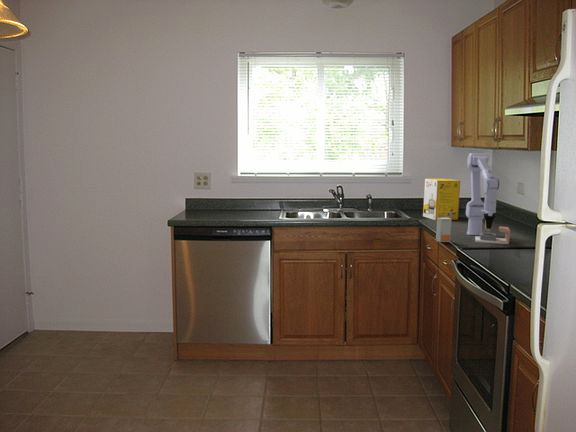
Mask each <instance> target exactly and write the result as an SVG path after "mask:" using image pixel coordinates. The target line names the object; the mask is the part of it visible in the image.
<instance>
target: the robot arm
mask: <svg viewBox="0 0 576 432" xmlns="http://www.w3.org/2000/svg"><path fill="white" fill-rule="evenodd" d="M466 162H467V165H466V166H467V170H469V171H470V190H471V191H470V194H471V198H470V199H471V200H470V201H468V202H467V203H466V207H465V216H466V217H467V219H468V224H467V230H466V236H467V235H468V236H480V233H483V229H482V228H483V219H484V220H486V228H487V229H491V230H492V228H491V227H492V226H493V223H494V220H495V218H496V213H497V210H496V209H497V197H498V196H497V195H498V190H499V188H500V184H501V183H500V180H499V178H497V177H496V176H495V174H494V172H493V170H492V169H490V168H489V165H488V164H489V154H488V153H472V152H471V153H469V154H468V156H467V161H466ZM481 178H482V180H483V191H484V201H482V199H481V195H482V193H481Z"/></svg>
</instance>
